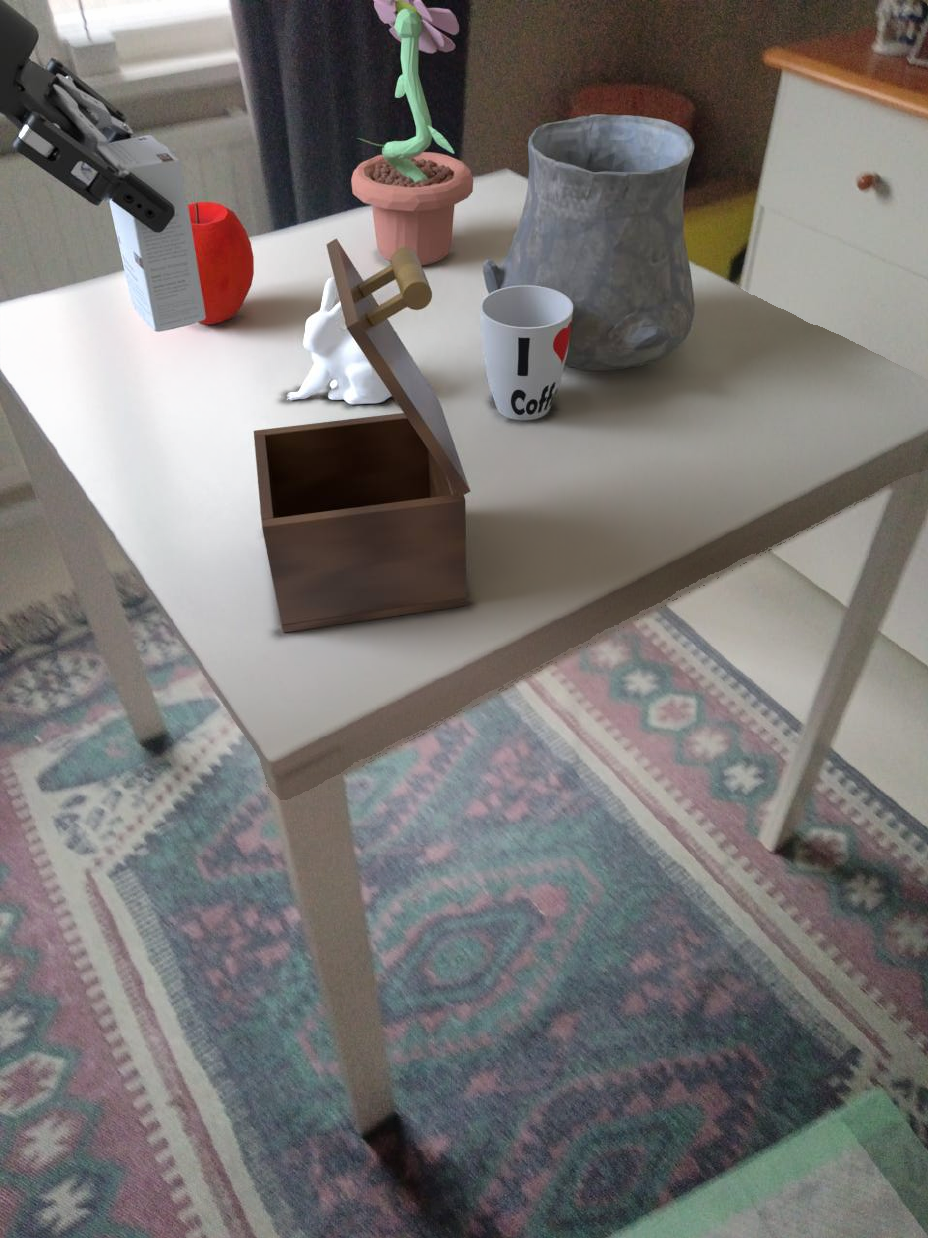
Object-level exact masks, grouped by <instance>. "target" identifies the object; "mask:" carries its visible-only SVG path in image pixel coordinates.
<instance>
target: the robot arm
mask: <svg viewBox="0 0 928 1238" xmlns="http://www.w3.org/2000/svg"><path fill="white" fill-rule="evenodd" d="M39 38H40V35H39V30H38V28H37V27H36V26H35V24H34V23H32V22H31V21H30V20H28V19H27V18H26V17H25V16H23V15H22V14H21V13H20V12H19V11H17V10H16V9H15V8H14V7H12V6H11V5H10V4H9V3H7V2H6V1H5V0H0V114H1V115H3V116H4V117H5V118H6V119H7V120H8V121H9V122H11V124H12V125H14V127H16V128H17V129H18V130H19V131H18V133H17V135H16V136H15V138H14V139H13V141H12V142H11V145H12V147H13V149H15V151H16V152H17V153H19V154H20V155H22V156H23V157H25V158H27V160H29V161H31V162H32V163H34V164H35V165H36V166H38V167H39V168H41V169H42V170H44V171H45V172H46V173H48V174H49V175H51V176H52V177H54V178H55V179H57V180H58V181H59V182H60V183H62V184H63V185H64V186H66V187H68V188H69V189H71V190H72V191H74V192H75V193H76V194H78V195H79V196H81V197H82V198H83V199H85V200H86V201H87V202H89V203H90V204H92V205H94V206H96V207H98V206H100V205H101V203H102V202H106V203H110V200H111V199H112V201H113V202H114V203H116V204H117V205H118V206H120V207H121V208H122V209H124V210H125V211H126V212H128V213H129V214H131V215H132V216H133V217H135V218H136V219H137V220H139V221H140V222H141V223H143V224H144V225H146V226H147V227H148V228H150V229H151V230H152V231H154V232H156V233H160V232H162V231H163V230H164V229H165V228H166V226H167V225H168V224H169V222H170V221H171V220H172V218H173V217H174V215H175V208H174V205H173V204H172V203H171V202H169V201H168V200H167V199H165V198H164V197H163V196H161V195H160V194H159V193H158V192H156V191H155V190H154V189H152V188H151V187H150V186H148V185H147V184H146V183H144V182H143V181H142V180H140V179H139V178H138V177H137V176H135V175H134V174H133V173H131V172H130V173H129V171H128V170H127V169H126V167H125V166H124V165H123V164H121V163H120V162H119V161H118V160H117V159H116V158H115V156H114V155H113V154H112V153H111V152H110V151H109V150H108V148H107V145H108V143H110V142H115V141H120V140H126V139H131V138H135V137H136V136H135V135H134V136H133V134H134V131H133V130H132V128H131V127H130V125H129V124H127V123H126V121H127V117H126V115H125V114H124V113H123V111H121V110H120V109H118V108H117V107H115V106H114V105H113V104H111V102H110V101H108V100H107V99H105V98H104V97H103V96H102V95H100V94H99V93H98V92H97V91H96V90H94V89H93V88H92V87H91V86H90V85H88V84H87V83H86V81H83V80H82V79H81V78H80V77H79V76H77V75H76V74H75V73H74V72H73V71H72V70H70V69H69V68H67V67H66V66H65V65H64V64H63V62H62V61H60V60H59V59H56V58H54V57H50V59H49V61H48V62H47V64H46V65H45V66H44V67H43V66H41V65H40V64H38V63H36V62H35V61H33V60H31V55H32V53H33V52H34V49H35V48H36V46H37V44H38V42H39ZM132 136H133V137H132ZM92 169H93V170H94V171H95V174H94V172H93V171H92Z"/></svg>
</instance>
